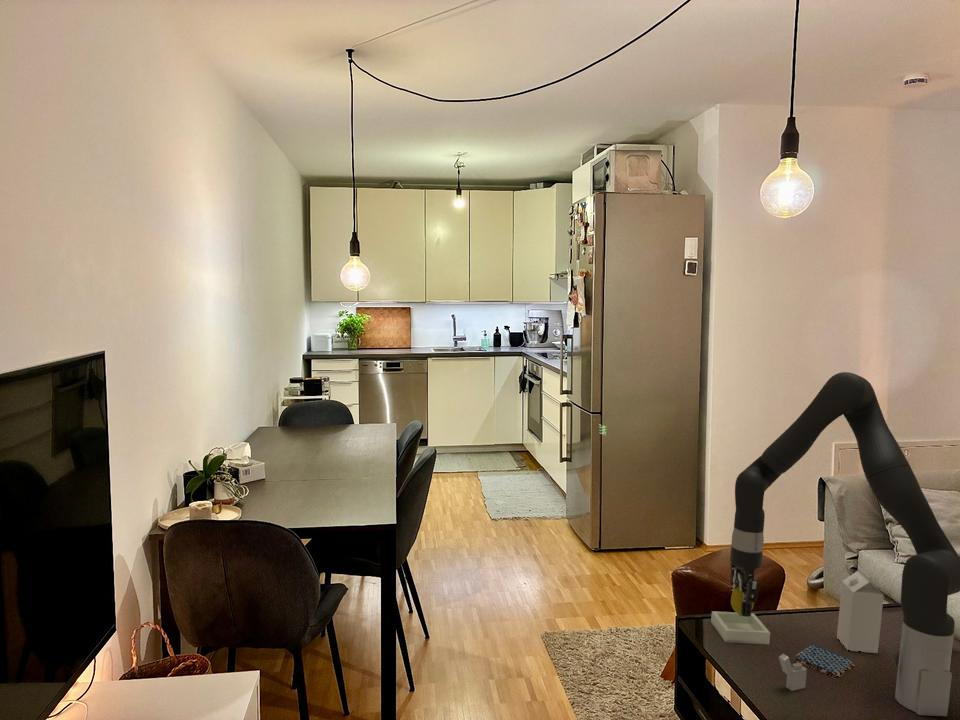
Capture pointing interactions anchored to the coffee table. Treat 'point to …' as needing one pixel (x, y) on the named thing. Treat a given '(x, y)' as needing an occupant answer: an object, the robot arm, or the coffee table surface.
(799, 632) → the coffee table surface
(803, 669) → the lighter
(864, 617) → the milk carton
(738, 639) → the tray
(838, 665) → the woven mat
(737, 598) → the lemon
